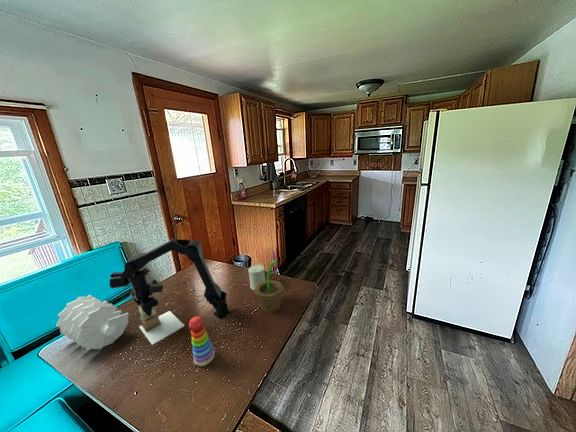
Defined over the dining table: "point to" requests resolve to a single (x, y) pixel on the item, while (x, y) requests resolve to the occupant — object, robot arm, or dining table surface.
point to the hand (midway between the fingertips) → (148, 313)
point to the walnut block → (150, 322)
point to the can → (256, 275)
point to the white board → (163, 328)
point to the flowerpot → (269, 292)
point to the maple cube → (145, 313)
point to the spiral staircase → (92, 322)
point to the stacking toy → (200, 342)
